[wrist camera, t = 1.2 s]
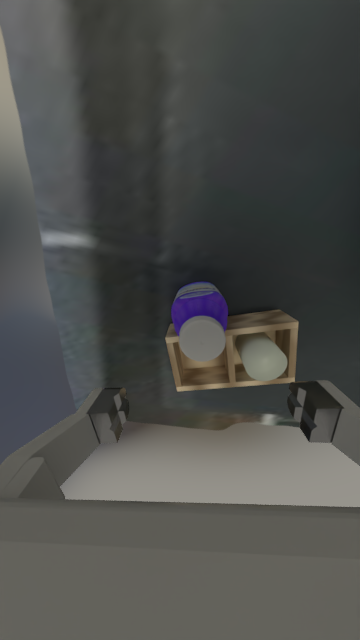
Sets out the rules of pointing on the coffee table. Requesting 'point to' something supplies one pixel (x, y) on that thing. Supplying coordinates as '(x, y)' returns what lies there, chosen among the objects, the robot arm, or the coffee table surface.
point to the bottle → (200, 320)
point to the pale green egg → (260, 356)
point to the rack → (235, 353)
